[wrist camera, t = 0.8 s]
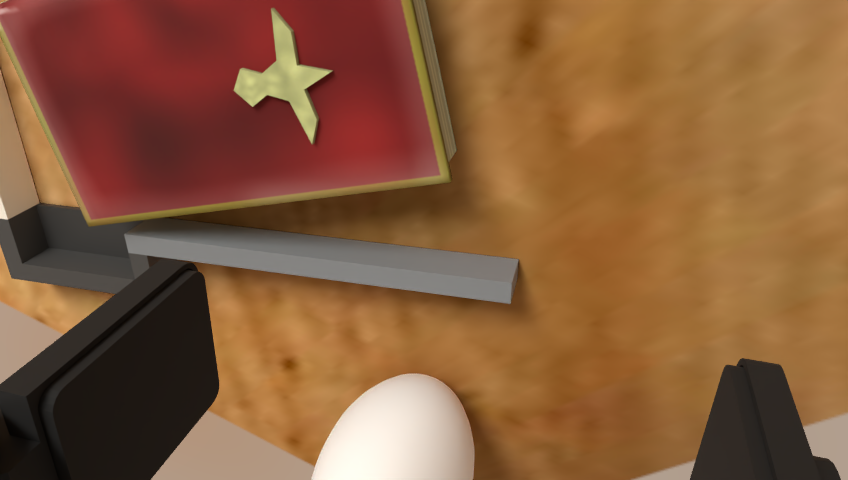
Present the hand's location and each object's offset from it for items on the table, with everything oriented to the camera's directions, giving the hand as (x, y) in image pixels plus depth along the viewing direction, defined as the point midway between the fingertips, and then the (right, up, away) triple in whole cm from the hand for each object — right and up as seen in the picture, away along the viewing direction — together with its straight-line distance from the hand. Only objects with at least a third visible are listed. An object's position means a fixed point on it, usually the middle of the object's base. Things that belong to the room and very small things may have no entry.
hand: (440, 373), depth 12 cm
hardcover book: (-9, +11, +23) cm, 27 cm away
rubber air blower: (0, -7, +29) cm, 29 cm away
